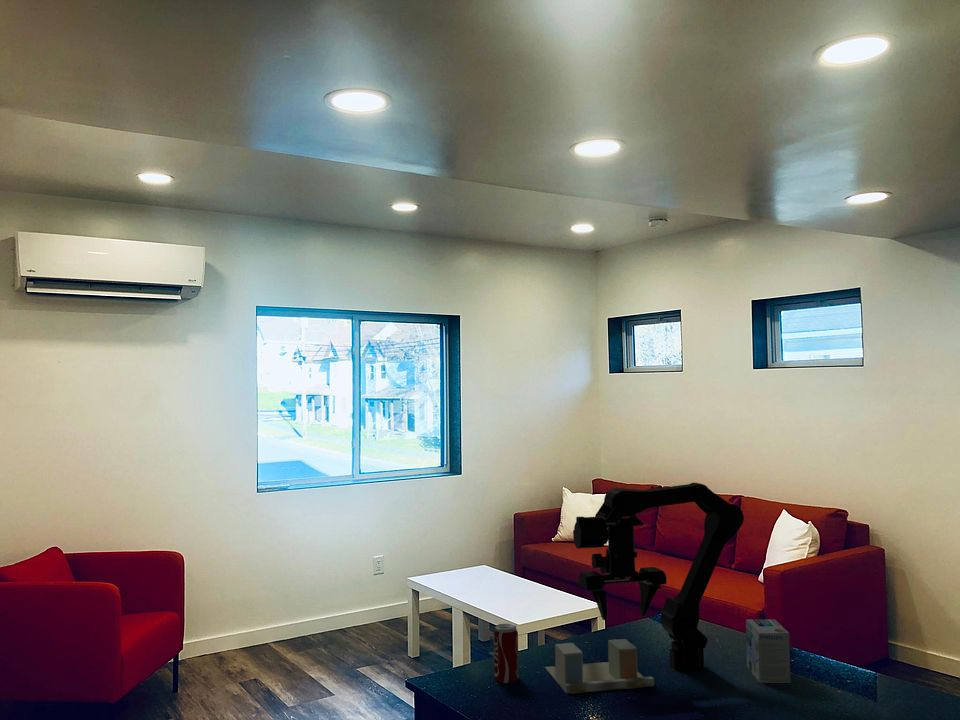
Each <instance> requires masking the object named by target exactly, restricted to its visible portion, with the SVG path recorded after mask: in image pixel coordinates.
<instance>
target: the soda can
mask: <svg viewBox="0 0 960 720" xmlns="http://www.w3.org/2000/svg"><path fill="white" fill-rule="evenodd" d="M518 632H519V631H518V630H517V626H516V625H515V624H513V623H499V624H496V625H495V629H494V631H493V670H494V671H493V675H494V676H493V680H494V681H496V682H498V683H502V684H510V683H512V684H513V683H516V682H517V681H518V680H519V633H518Z"/></svg>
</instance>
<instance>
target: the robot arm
mask: <svg viewBox="0 0 960 720" xmlns="http://www.w3.org/2000/svg"><path fill="white" fill-rule="evenodd" d="M688 503H689V504H690V503H695V504H696V506H697V507H698V508H699V509H700V510H701V511H702V512H704V513H705V518H704V524H703V525H704V531H703V533H704V534H703V535H704V536H703V538H702V540H701V542H700V545H699V547H698V549H697V552H696V555H695V556H694V559H693V560H692V563H691V566H690V568H689V570H688V572H687V574H686V577H685V579H684V582H683V584H682V586H681V588H680V591H679V593H678V594H677V595H676V596H674V597H673V598H672V597H671V596H666V598H665V601H664V605H663V607H662V608H661V610H660V611H659V613H660V614H661V615H660V618H659V619H660V620H659V621H660V623H661V626H662V628H663V629H664V631H665V632H667V634H668V636H669V639H671V640H673V641H671V645H670V646H671V648H670V649H669V667H670V668H671V669H672V670H674V671H679V672H680V671H681V672H682V671H683V672H689V673H691V672H692V673H693V672H694V673H695V672H699V671H701V670H704V669H705V657H704V649H705V648H706V647H707V644H708V638H707V636H706V635H705V634H703V632H702V631H700V629H698V626H699V622H700V619H701V617H700V614H701V613H700V604H701V601H702V598H703V596H704V594H705V592H706V589H707V586H708V584H709V582H710V580H711V578H712V575H713V573H714V570H715V569H716V565H717V564H718V561H719V559H720V556H721V555H722V552H723V550H724V547H725V546H726V544H727V543H728V542H729V541H731V540H732V539H733V538H734V537H735V536H736V535H737V533H738V532H739V530H740V528H741V527H742V525H743V524H744V520H745V516H744V513H743V511H742V509H741V508H740V507H739V506H738V505H736V504H733V503H730V502H728V501H726V500H725V498H722V497H721V496H719V495H718V494H717V493H715V492H714V491H712V490H711V489H710V488H709V487H708V486H707V485H706V484H704V483H700V482H691V483H688V484H679V485H672V486H664V487H655V488H649V489H636V488H623V487H613V488H610V489H608V491H607V492H606V494H605V495H604V498H603V503H602V505H601V506H600V508H599V509H598V511H597V512H596V513H595V516H576V517H575V520H576V521H575V524H574V528H573V530H572V532H573V533H572V535H573V536H572V537H573V542H574V546H575V548H576V549H594V548H597V549H598V548H603V547H604V546H605V545H608V548H607V549H606V551H605V556H603V555H602V553H593V554H591V567H592V569H593V570H594V571H593V570H592V571H581V572H580V573H579V575H578V585H579V586H580V587H581V588H583V589H585V590H586V591H588V592H590V593H591V594H592V596H593V598H594V601H595V602H596V605H597V608H598V610H599V613H600V616H601V619H602V621H606V619H607V590H605V589H604V587H605V585H607V584H621V583H633V582H638V585H639V591H640V603H639V604H640V607H639V609H640V610H639V611H640V616H641V617H644V618H645V616H646V615H647V612H648V609H649V607H650V604H651V603H652V600H653V598H654V597H655V594H656V593H657V591H658V590H659V589H661V588H662V585H666V584H667V574H666V573H665V571H664V570H663V569H659V568H657V567H655V566H647V567H640V569H639V571H637V570H636V558H638V552H636V551H635V527H637V526H639V527H641V526H643V525H644V522H643V521H642V520H640V519H639V518H638V516H637V514H640V513H642V512H644V511H646V510H648V509H652V508H658V507H666V506H673V505H679V504H680V505H683V504H688ZM596 569H599V571H600V572H597V571H595V570H596ZM605 573H606V574H605Z"/></svg>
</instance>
